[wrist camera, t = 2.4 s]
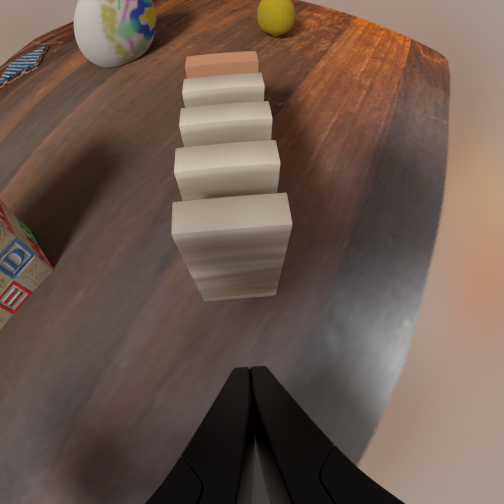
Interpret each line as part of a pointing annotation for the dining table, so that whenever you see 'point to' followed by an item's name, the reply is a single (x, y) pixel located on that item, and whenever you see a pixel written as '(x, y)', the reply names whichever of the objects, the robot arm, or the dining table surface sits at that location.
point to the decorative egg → (114, 30)
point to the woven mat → (23, 65)
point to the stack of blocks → (18, 263)
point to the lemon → (276, 16)
